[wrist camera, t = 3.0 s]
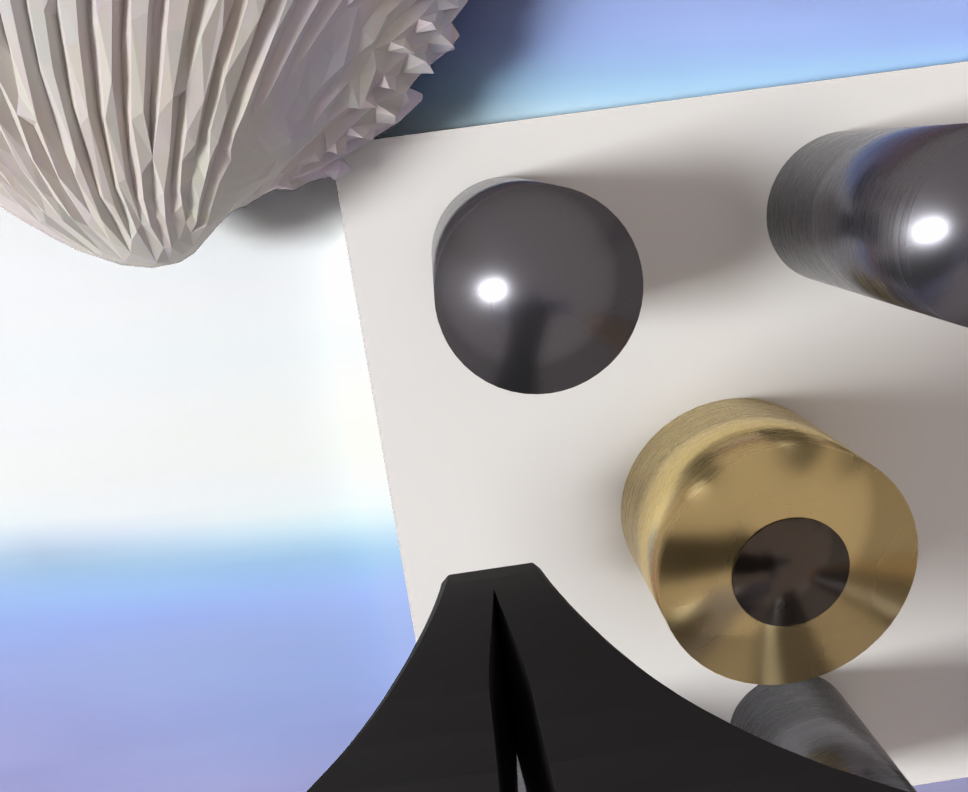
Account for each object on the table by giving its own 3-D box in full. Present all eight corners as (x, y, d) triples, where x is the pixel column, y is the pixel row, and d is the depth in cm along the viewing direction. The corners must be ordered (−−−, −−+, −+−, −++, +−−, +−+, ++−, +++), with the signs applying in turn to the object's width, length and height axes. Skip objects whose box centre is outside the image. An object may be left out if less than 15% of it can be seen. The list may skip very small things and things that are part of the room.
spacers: (1153, 715, 17) (1372, 882, 13) (463, 825, 16) (474, 1032, 12) (1242, 77, 13) (1582, 44, 9) (357, 195, 13) (328, 212, 9)
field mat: (1358, 691, 18) (1390, 709, 17) (452, 835, 17) (453, 859, 16) (1516, -10, 14) (1565, -18, 13) (333, 145, 13) (329, 144, 12)
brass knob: (836, 584, 15) (916, 666, 13) (629, 616, 15) (668, 705, 13) (837, 382, 14) (925, 430, 12) (611, 415, 14) (651, 470, 11)
